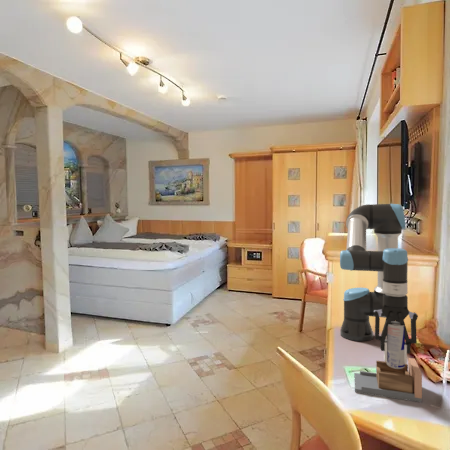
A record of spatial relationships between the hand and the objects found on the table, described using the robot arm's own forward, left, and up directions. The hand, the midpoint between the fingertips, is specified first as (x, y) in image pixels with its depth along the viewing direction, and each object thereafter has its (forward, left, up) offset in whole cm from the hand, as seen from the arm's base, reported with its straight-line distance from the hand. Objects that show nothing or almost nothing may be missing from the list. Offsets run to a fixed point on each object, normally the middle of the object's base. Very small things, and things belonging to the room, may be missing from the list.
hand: (395, 361), depth 117 cm
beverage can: (0, 0, -2) cm, 2 cm away
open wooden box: (0, 0, -9) cm, 9 cm away
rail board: (0, -3, -10) cm, 10 cm away
